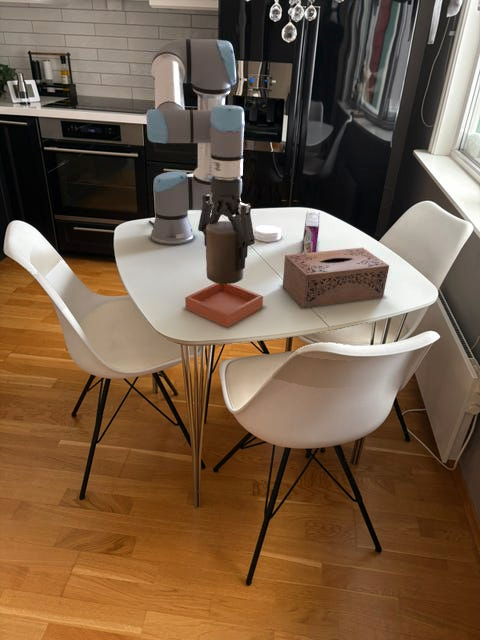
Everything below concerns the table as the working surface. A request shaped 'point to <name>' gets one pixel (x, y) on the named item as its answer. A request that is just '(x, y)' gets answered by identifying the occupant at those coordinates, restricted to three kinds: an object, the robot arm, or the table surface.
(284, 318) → the table surface
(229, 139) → the robot arm
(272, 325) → the table surface
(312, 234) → the candy bar box
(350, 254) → the tissue box cover
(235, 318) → the holder
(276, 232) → the coaster
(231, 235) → the pillar candle
